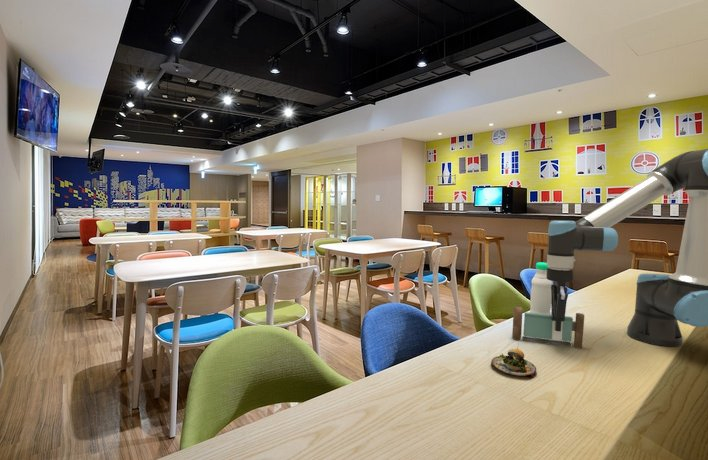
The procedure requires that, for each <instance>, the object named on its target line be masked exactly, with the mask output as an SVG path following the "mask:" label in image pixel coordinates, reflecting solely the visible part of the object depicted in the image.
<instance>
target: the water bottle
mask: <svg viewBox="0 0 708 460" xmlns="http://www.w3.org/2000/svg"><path fill="white" fill-rule="evenodd" d="M547 268H549V267H548V266H547V262H543V261H542V262H541V261H540V262H536V264H535V270H536V272H535V274H534V276H533V277H532V279H531V281H530V282H531V289H530V301H529V303H530V304H529V305H530V310H529V313H538V314H548V315H551V285H553V281H551V280H548V279H547V278H546V276H547Z"/></svg>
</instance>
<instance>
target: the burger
mask: <svg viewBox="0 0 708 460" xmlns="http://www.w3.org/2000/svg"><path fill="white" fill-rule="evenodd" d="M519 344H520V343H518V345H517V348H512V349H509V350H508V351H507V355H504V354H503V353H501V354H499V356H495V357H493V358H492V359H491V361H490V364H491V366H494V367H495V368H496V369H498V370H499V371H501V372H503V373H506V374H508V375H511V376H512V375H513V376H518V377H519V376H523V377H525V376H529V375H531V376H530V379H534V377H537V376H536V375H537V367H536V365H535V364H533V363H532V362H530V361H529V360H527V359H525V353H524V352H523V351H522V350H520V349H519V346H520V345H519Z"/></svg>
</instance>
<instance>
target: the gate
mask: <svg viewBox="0 0 708 460" xmlns="http://www.w3.org/2000/svg"><path fill="white" fill-rule="evenodd" d="M552 316H553V315H548V314H538V313H530V312H528V311H527V312H526V311H525V312H524V318H523V320H524V321H523V322H524V323H523V334H522V336H526V337H534V338H542V339H550V340H552V323H553V321H552V320H551V318H552ZM573 321H574V318H573V317H572V316H568V315H565V321H563V326H562V341H566V342H570V343H571V342H572V336H573V335H572V334H573V331H572V322H573Z"/></svg>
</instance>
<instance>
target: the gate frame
mask: <svg viewBox="0 0 708 460" xmlns="http://www.w3.org/2000/svg"><path fill="white" fill-rule="evenodd" d="M523 309H524V308H523V307H521V306H513V317H512V334H511V339H513V340H514V341H523V342H529V343H538V344H546V345H553V346H561V347H568V348H571V347H572V343H571V342H568V341H557V340H551V339H543V338H535V337H527V336H524V335H522V331H523V330H522V326H523ZM584 326H585V314H584V313H580V312H576V313H575V321H574V320H573V322H572V332H574V336H573V347H574V348H578V349H583V340H584V330H585V329H584Z"/></svg>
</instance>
